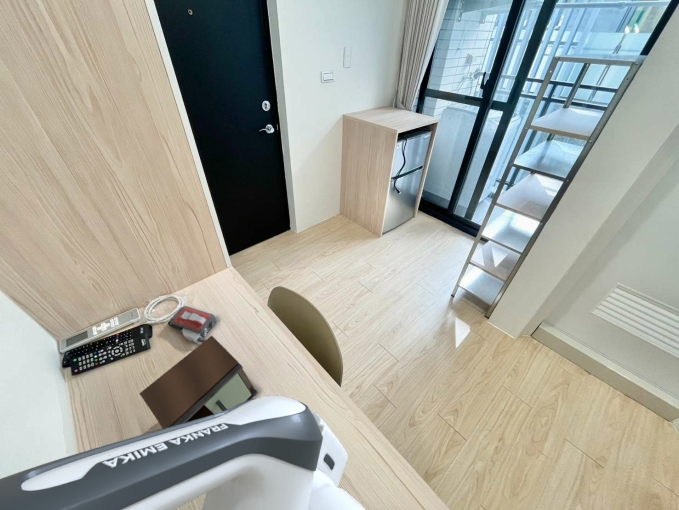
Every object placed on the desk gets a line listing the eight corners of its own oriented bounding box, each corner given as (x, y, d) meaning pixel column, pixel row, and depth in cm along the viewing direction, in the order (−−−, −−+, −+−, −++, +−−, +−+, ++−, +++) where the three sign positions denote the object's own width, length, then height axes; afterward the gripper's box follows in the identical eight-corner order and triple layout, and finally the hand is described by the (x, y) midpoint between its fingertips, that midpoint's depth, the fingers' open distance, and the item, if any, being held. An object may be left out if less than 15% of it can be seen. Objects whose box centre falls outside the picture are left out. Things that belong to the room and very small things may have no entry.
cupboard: (200, 453, 59) (167, 435, 48) (174, 417, 64) (139, 393, 53) (258, 392, 68) (241, 365, 57) (231, 365, 73) (211, 335, 62)
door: (235, 436, 60) (216, 419, 51) (222, 421, 62) (202, 402, 53) (262, 406, 64) (249, 385, 55) (250, 393, 66) (235, 371, 57)
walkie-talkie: (164, 332, 80) (221, 352, 75) (157, 324, 77) (216, 345, 72) (185, 308, 86) (239, 326, 81) (179, 300, 83) (235, 318, 78)
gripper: (243, 624, 29) (218, 542, 40) (355, 446, 41) (312, 421, 52) (206, 587, 28) (191, 514, 39) (331, 415, 40) (293, 396, 51)
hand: (261, 460), depth 46 cm, fingers open, 8 cm apart
